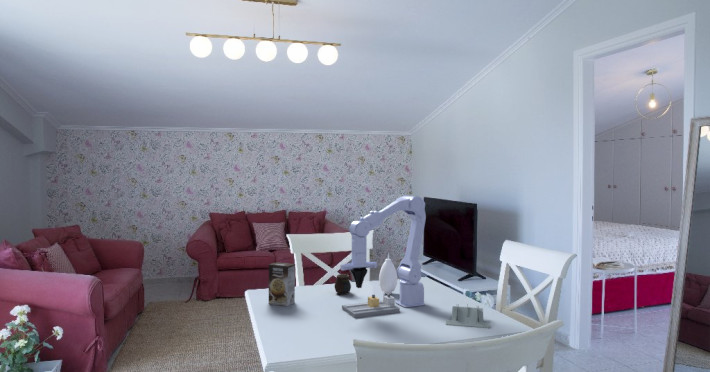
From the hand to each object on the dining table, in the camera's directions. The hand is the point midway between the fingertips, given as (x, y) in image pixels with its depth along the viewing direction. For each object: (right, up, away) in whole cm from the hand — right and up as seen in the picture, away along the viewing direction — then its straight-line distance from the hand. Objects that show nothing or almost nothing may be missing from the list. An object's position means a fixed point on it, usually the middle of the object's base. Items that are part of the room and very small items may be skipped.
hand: (358, 287), depth 184 cm
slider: (+6, -7, +2) cm, 10 cm away
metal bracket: (+39, -11, -11) cm, 42 cm away
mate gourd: (-7, -9, +27) cm, 29 cm away
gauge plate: (+5, -9, +2) cm, 10 cm away
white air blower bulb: (+13, -9, +27) cm, 31 cm away
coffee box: (-31, -9, +11) cm, 34 cm away
